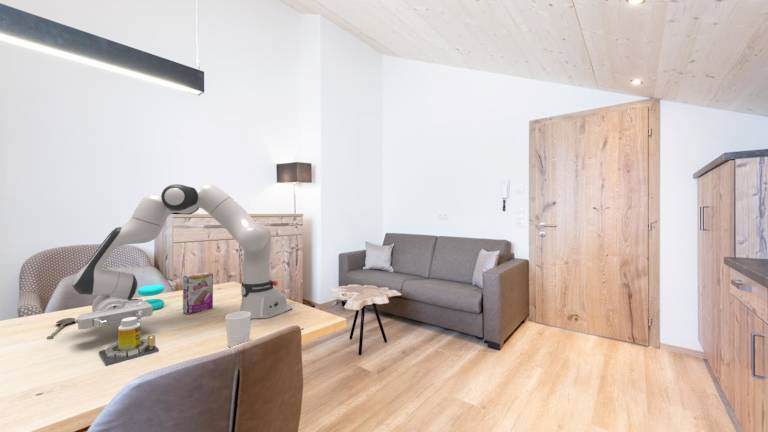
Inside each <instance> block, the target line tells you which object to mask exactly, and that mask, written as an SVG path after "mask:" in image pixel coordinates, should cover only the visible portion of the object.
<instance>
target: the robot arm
mask: <svg viewBox="0 0 768 432" xmlns="http://www.w3.org/2000/svg"><path fill="white" fill-rule="evenodd" d="M199 209H202V210H204V212H206V213H207V214H208V215H210V216H211V217H212V218H213V220H215V221H216V222H218V223H219V225H221V226H222V227H223V228H224V229H225V230H226V231H227V232H228V234H230V235H231V237H232V238H233V239H234V240H235V241H236V242H237V243H238V245H239V246H240V247H241V248H242V249H243V250H244V253H243V259H242V261H243V262H242V265H241V266H242V282H241V291H240V292H241V305H240V309H239V312H241V311H246V312H250V313H251V319H269V318H272V317H275V316H278V315H280V314H283V313H286V312H288V310H289V311H291V310H292V309H293V306H292V305H291V304H289V303H288V302H287V298H286V295H284V294H283V293H282V292H281V291H279V290H278V289H276V288H274V287H277V286H278V284H279V282H278V281H276V280H271V279H270V275H271V274H270V271H271V270H270V269H271V267H270V266H271V265H270V264H271V262H270V259H271V249H272V248H271V247H272V233H271V230H270V229H269V228H268V227H267V226H266V225H264V224H261V223H259V224H258V223H257V222H256V220H254V219H253V217H251V216H250V214H249V213H248V212H247V211H246V209H244V207H242V206H241V205H240V204H239V203H238V202H237V201H235V199H233V198H232V197H231V196H230V195H229V194H227V193H226V192H225V191H224V190H222V189H221V188H219V187H218V186H216V185H214V184H212V183H211V184H210V183H207V184H204V185H201V186H200V187H199V188H197V189H196V188H194V187H193V186H192V187H191V186H187V185H184V184H180V183H179V184H177V183H176V184H171V185H168V186H166V187H165V188H164V189H163V190H162V192H161V195H157V194H147V195H145V196H144V197H143V198H142V200H141V201H140V202H139V204H138V205H137V207H136V208H135V210H134V211H133V214H132V215H131V217H130V219H129V220H128V222H126V223H125V224H124V225H122V226H120V227H115V228H114V229H113V230H112V231H111V232H109V234H108V235H107V236H106V238H105V239H104V240H103V242H101V244H100V245H99V247H97V249H96V251H94V253H93V255H91V257H90V259H89V260H88V261H87V262H86V263H85V265H84V266H83V267H82V268H81V269H80V270H79V271H78V272H77V274H76V275H75V276H74V278H73V280H72V285H71V286H72V288H73V289H74V290H75V292H76V293H78V294H79V295H89V296H92V295H95V296H97V297H96V298H95V299H94V300H93V301H92V305H91V312H87V313H86V312H85V313H82V314H79V315H78V317H76V318H75V317H74V318H75V320H74V321H73V322H75V323H77V329H78V330H87V329H92V328H95V327H99V328H102V327H107V326H115V325H118V324H121V320H122V319H124V318H128V317H137V321H138V320H141V319H142V318H145V317H151V316H153V311H154V310H153V308H152V305H151V304H149V303H147V302H144V301H145V300H143V299H142V298H133V297H134V295H135V294H136V291H137V290H138V289H137V288H138V280H137V278H136V276H135V274H133V273H129V272H125V271H119V270H112V269H106V268H102V266H103V265H104V264H105V263H106V261H107V260H108V258H109V257H110V256H111V254H112V253H113V252H114V251H115V250H116V249H117V248H119V247H121V246H125V245H137V244H145V243H149V242H152V241H154V240H155V239H157V238H158V237H159V235H160V234H161V232H162V230H163V228H164V225H165V224H166V222H167V219H168V217H169V216H171V215H172V214H174V215H175V214H176V215H191V214H194V213H196V212H197V211H198V210H199ZM290 309H291V310H290ZM285 311H286V312H285Z"/></svg>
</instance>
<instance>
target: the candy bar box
mask: <svg viewBox="0 0 768 432" xmlns="http://www.w3.org/2000/svg"><path fill="white" fill-rule="evenodd" d="M213 299H214V273H212V272H201V273H195V274H193V273H192V274H186V275H183V276H182V313H184V314H186V315H191V314H194V313H199V312H202V311H207V310H211V309H212V310H213V307H214V306H213V305H214V301H213Z"/></svg>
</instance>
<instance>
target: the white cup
mask: <svg viewBox="0 0 768 432" xmlns="http://www.w3.org/2000/svg"><path fill="white" fill-rule="evenodd" d="M251 319H252V318H251V313H250V312H246V311H241V312H240V311H235V312H230V313H228V314H227V315H225V331H226V339H227V347H228V348H230V347H233V346H236V345H239V344H242V343H245V342H248V341H249V342H250V338H251V337H250V336H251V324H252V323H251V321H252V320H251Z"/></svg>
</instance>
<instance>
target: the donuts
mask: <svg viewBox="0 0 768 432" xmlns="http://www.w3.org/2000/svg"><path fill="white" fill-rule="evenodd" d="M164 290H165V287H164V286H163V285H161V284H153V285H150V284H149V285H145V286H141V287H139V288H138V289H137V294H138V295H139V296H141V297H151V296H156V295H159V294H161V293H163V292H164ZM143 301H144V302H147V303H149V304H151V305H152V308H153V311H155V310H159V309H161V308H164V305H165V302H164V300H162V299H160V298H159V299H158V298H152V299H146V300H143Z"/></svg>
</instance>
